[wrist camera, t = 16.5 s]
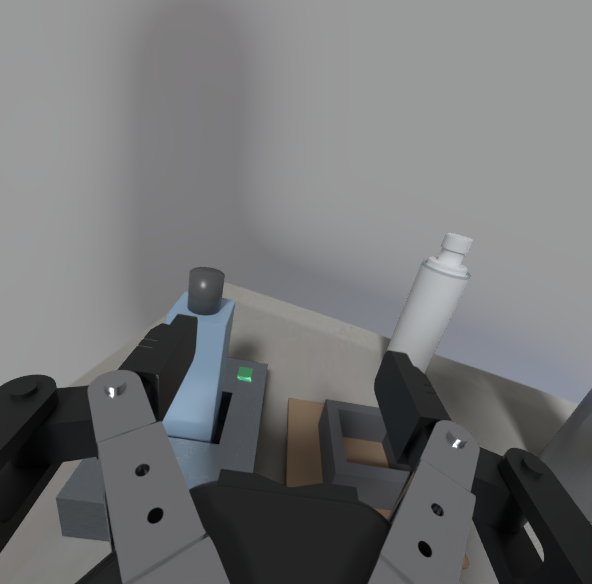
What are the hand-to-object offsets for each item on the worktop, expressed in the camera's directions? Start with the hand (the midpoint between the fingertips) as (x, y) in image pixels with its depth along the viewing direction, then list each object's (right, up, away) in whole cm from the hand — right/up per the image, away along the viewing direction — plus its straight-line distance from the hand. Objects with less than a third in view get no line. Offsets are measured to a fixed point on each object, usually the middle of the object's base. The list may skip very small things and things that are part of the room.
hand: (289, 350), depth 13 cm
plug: (-11, -13, +18) cm, 25 cm away
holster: (+7, -17, +20) cm, 27 cm away
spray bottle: (+18, -11, +38) cm, 44 cm away
